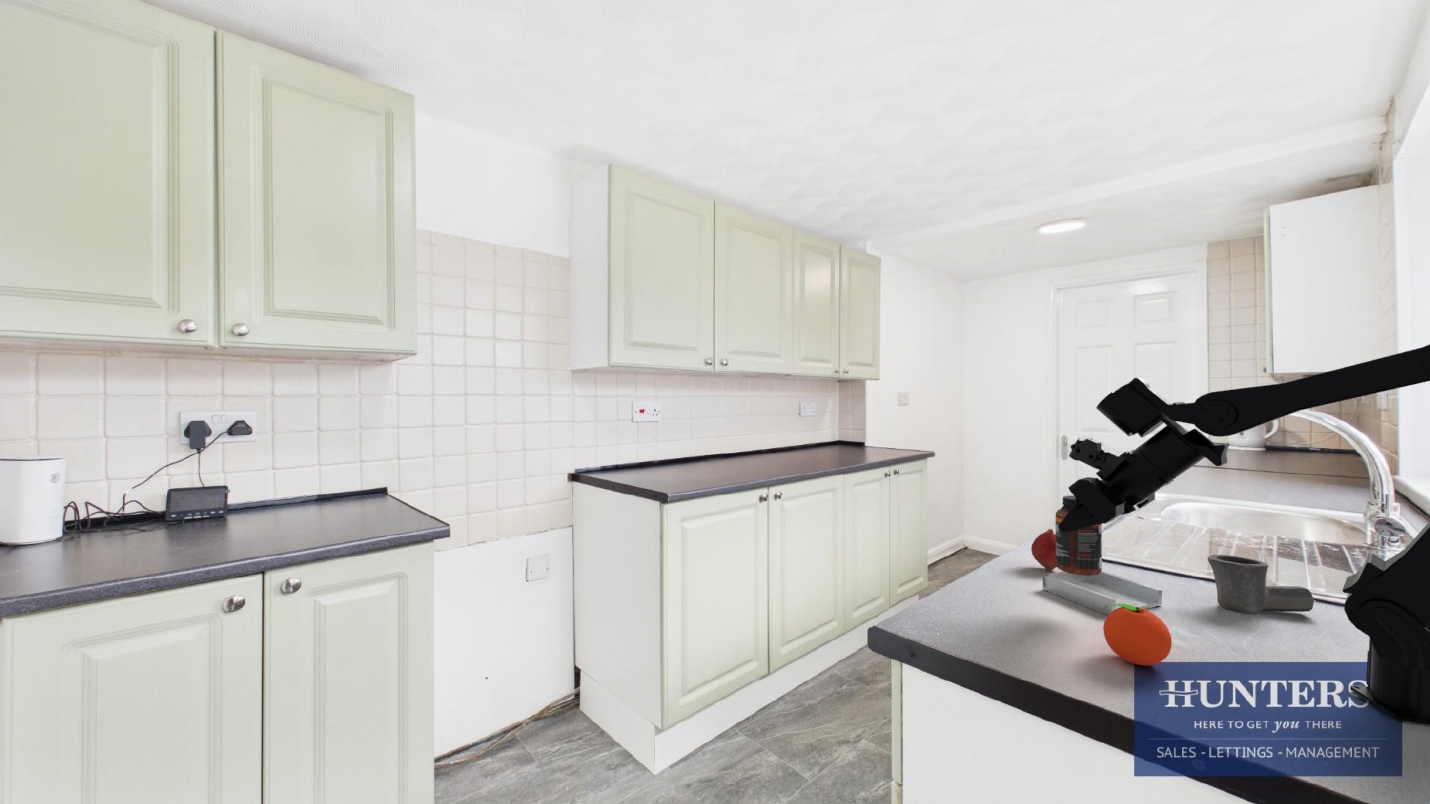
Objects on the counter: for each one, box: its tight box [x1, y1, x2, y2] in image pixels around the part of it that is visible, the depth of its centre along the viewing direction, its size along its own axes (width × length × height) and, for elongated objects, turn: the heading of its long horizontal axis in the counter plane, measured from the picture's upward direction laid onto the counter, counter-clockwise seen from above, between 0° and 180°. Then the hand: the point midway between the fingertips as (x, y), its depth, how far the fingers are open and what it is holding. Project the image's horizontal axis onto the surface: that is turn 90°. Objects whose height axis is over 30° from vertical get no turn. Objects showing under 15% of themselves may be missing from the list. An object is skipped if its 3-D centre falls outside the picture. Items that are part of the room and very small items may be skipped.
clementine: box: [1099, 604, 1173, 667], centre depth 71 cm, size 8×7×7 cm
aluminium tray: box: [1042, 570, 1163, 616], centre depth 91 cm, size 12×12×3 cm
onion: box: [1030, 528, 1057, 571], centre depth 105 cm, size 6×6×8 cm
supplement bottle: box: [1054, 494, 1103, 576], centre depth 85 cm, size 6×6×11 cm
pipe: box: [1207, 554, 1315, 614], centre depth 86 cm, size 6×13×8 cm, turn 78°
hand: (1068, 526), depth 86 cm, fingers closed on supplement bottle, 6 cm apart
